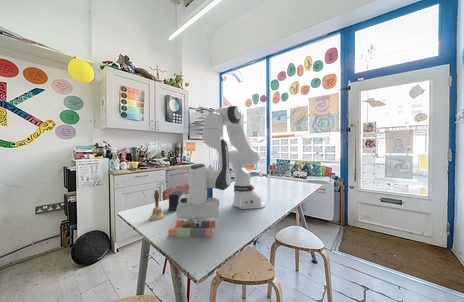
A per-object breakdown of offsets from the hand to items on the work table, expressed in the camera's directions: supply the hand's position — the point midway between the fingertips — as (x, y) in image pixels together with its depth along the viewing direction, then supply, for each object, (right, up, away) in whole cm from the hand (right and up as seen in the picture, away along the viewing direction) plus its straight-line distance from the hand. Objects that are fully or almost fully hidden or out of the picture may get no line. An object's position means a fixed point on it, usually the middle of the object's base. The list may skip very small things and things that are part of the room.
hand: (197, 226), depth 84 cm
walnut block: (-4, -2, +1) cm, 5 cm away
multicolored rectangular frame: (-2, -2, 0) cm, 3 cm away
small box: (-20, -2, +32) cm, 38 cm away
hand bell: (-27, -2, +16) cm, 31 cm away
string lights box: (-1, -2, +31) cm, 31 cm away
